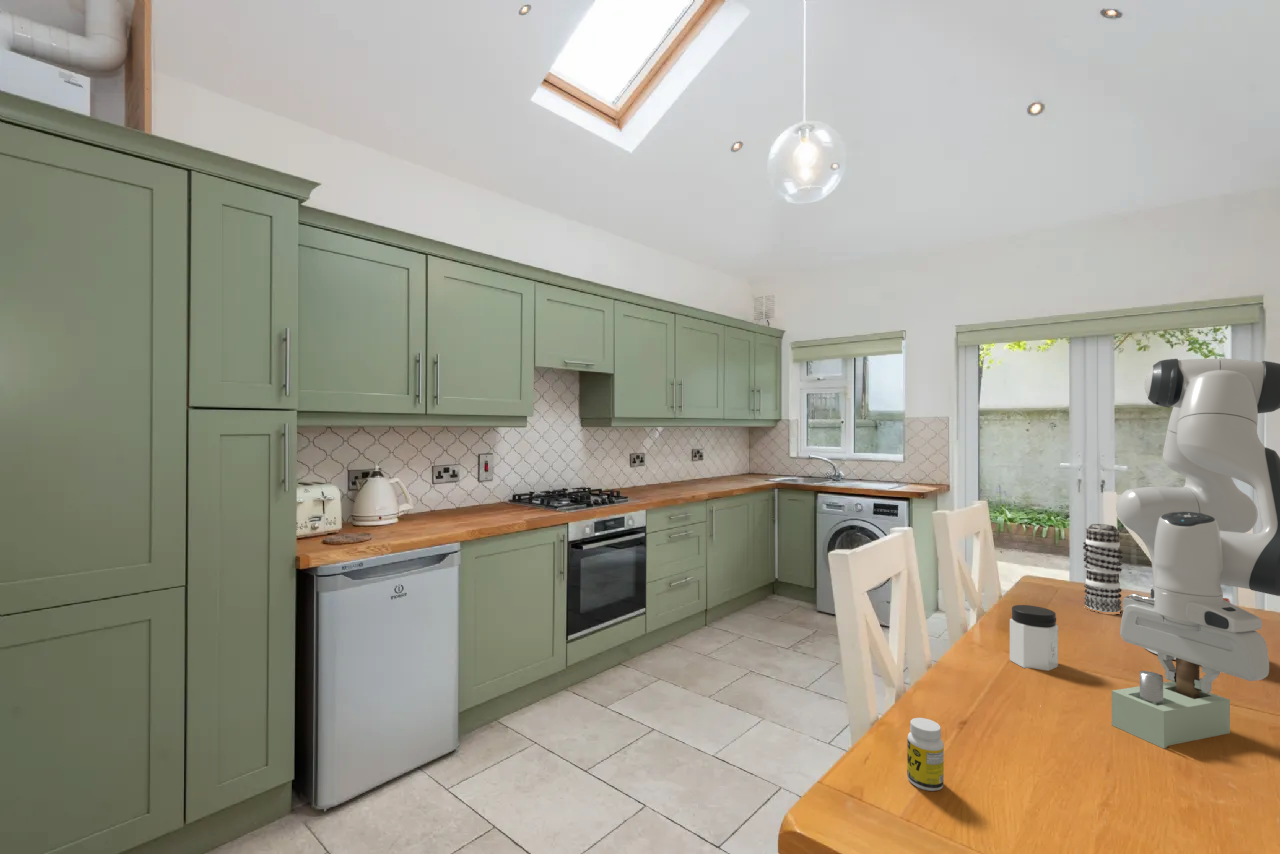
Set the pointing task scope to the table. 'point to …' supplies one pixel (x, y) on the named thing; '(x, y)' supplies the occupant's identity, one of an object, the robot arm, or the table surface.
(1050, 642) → the jar
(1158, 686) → the grey metal peg
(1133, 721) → the socket block
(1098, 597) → the decorative candle
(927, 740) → the supplement bottle
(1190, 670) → the walnut peg
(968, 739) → the table surface
